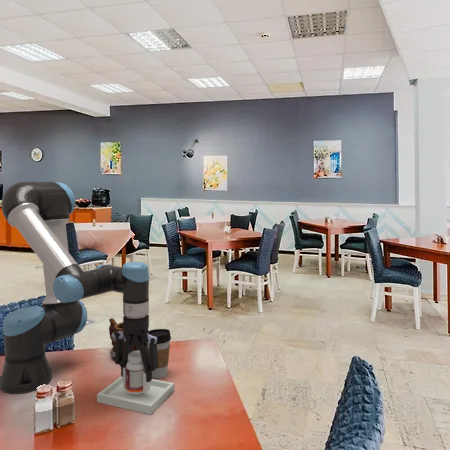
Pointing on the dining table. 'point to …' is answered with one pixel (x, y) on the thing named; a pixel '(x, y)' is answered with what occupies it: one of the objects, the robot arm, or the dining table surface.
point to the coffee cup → (161, 351)
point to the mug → (112, 330)
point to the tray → (136, 396)
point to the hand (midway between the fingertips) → (136, 388)
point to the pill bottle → (134, 373)
